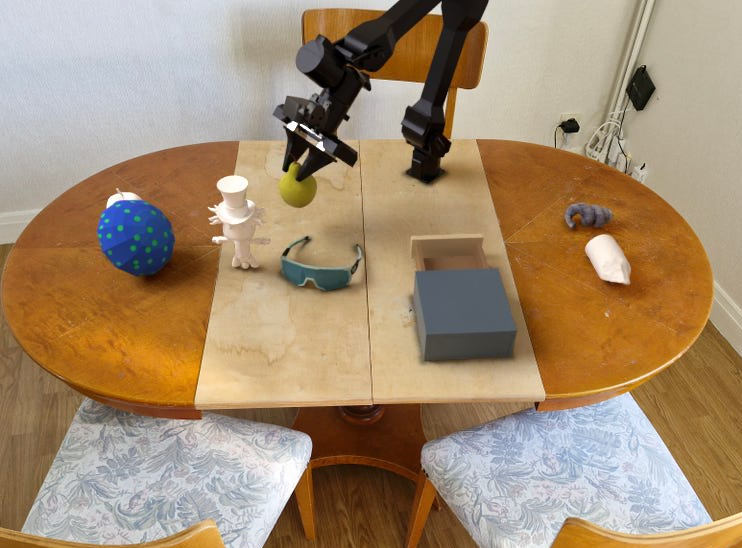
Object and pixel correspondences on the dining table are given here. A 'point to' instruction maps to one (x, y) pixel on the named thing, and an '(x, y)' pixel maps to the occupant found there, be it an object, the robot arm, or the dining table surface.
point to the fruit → (297, 187)
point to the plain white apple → (122, 197)
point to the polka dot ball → (136, 237)
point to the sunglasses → (317, 271)
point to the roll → (608, 259)
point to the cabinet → (463, 314)
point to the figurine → (238, 219)
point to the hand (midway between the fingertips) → (290, 176)
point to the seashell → (588, 215)
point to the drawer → (448, 252)
